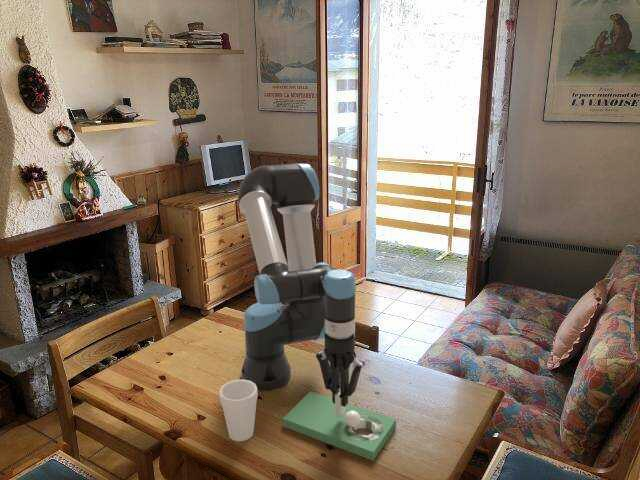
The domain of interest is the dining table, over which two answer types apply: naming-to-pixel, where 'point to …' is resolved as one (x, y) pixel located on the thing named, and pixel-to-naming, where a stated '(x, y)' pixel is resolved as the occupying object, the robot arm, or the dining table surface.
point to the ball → (352, 418)
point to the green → (339, 425)
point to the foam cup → (239, 408)
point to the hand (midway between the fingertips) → (340, 414)
